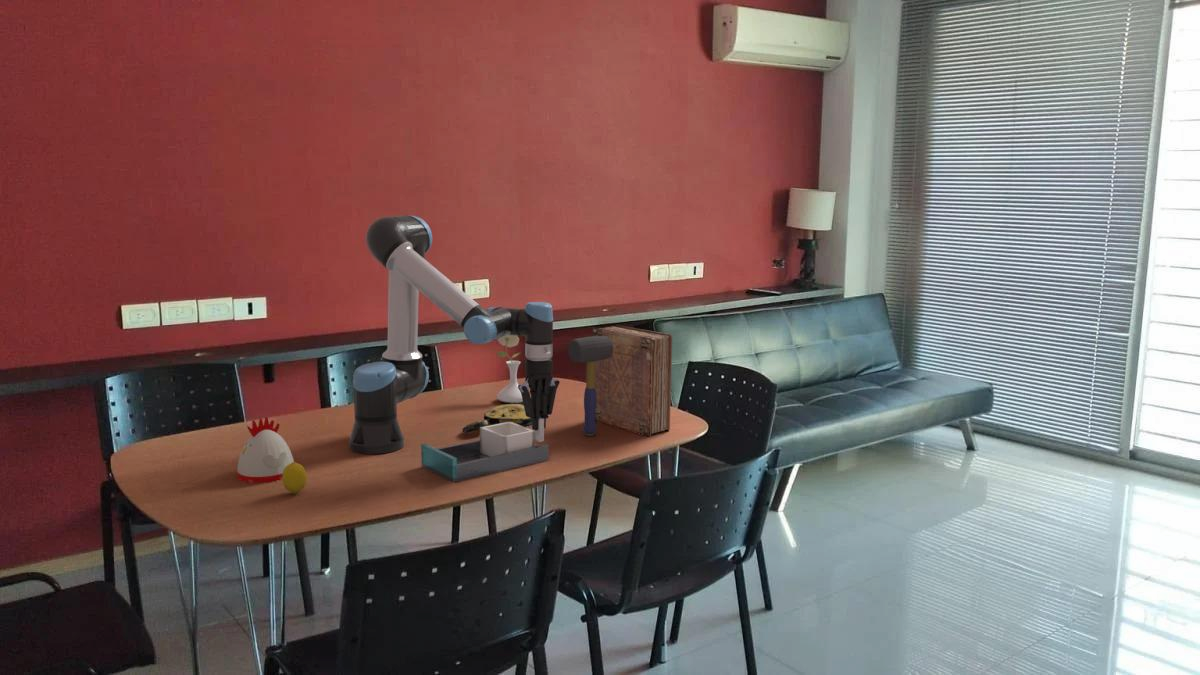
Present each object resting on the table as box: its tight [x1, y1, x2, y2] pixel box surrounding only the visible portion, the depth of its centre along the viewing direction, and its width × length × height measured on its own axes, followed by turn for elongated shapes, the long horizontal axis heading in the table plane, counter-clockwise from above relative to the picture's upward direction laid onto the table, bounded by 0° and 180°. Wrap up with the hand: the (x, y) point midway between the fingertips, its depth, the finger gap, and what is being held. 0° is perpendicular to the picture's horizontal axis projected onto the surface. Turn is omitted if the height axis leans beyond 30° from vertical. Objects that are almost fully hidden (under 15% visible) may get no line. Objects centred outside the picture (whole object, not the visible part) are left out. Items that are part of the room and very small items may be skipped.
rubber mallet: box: [567, 336, 613, 437], centre depth 267 cm, size 12×8×30 cm, turn 124°
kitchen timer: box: [236, 416, 295, 484], centre depth 230 cm, size 14×14×15 cm
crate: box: [479, 422, 536, 457], centre depth 246 cm, size 10×12×7 cm
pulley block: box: [462, 402, 532, 434], centre depth 278 cm, size 14×6×30 cm
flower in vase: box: [495, 335, 523, 404], centre depth 307 cm, size 13×11×25 cm
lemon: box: [281, 461, 308, 495], centre depth 217 cm, size 6×6×8 cm
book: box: [591, 324, 673, 437], centre depth 278 cm, size 25×9×30 cm, turn 44°
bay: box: [420, 439, 549, 483], centre depth 242 cm, size 30×16×6 cm, turn 130°
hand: (538, 440), depth 253 cm, fingers closed
